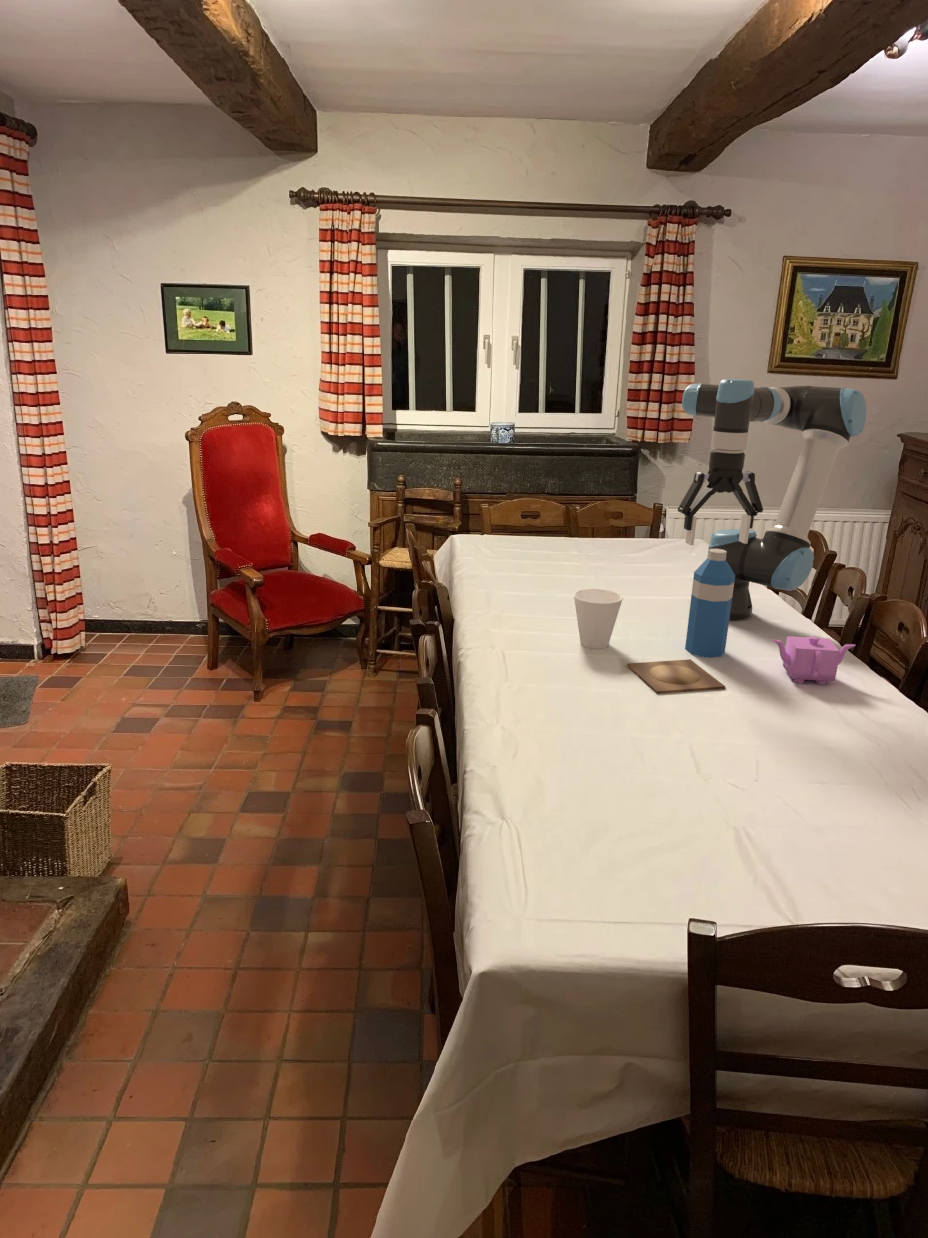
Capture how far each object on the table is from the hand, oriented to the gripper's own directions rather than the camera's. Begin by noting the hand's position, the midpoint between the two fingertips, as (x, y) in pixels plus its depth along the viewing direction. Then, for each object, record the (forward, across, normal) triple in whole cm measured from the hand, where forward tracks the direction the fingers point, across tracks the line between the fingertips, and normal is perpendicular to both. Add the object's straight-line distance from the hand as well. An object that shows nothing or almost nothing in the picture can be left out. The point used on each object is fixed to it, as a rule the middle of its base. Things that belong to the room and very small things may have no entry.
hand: (716, 543), depth 194 cm
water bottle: (+27, 0, 0) cm, 27 cm away
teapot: (+27, -16, +19) cm, 37 cm away
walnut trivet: (+27, +14, +14) cm, 34 cm away
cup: (+27, +25, -8) cm, 38 cm away
